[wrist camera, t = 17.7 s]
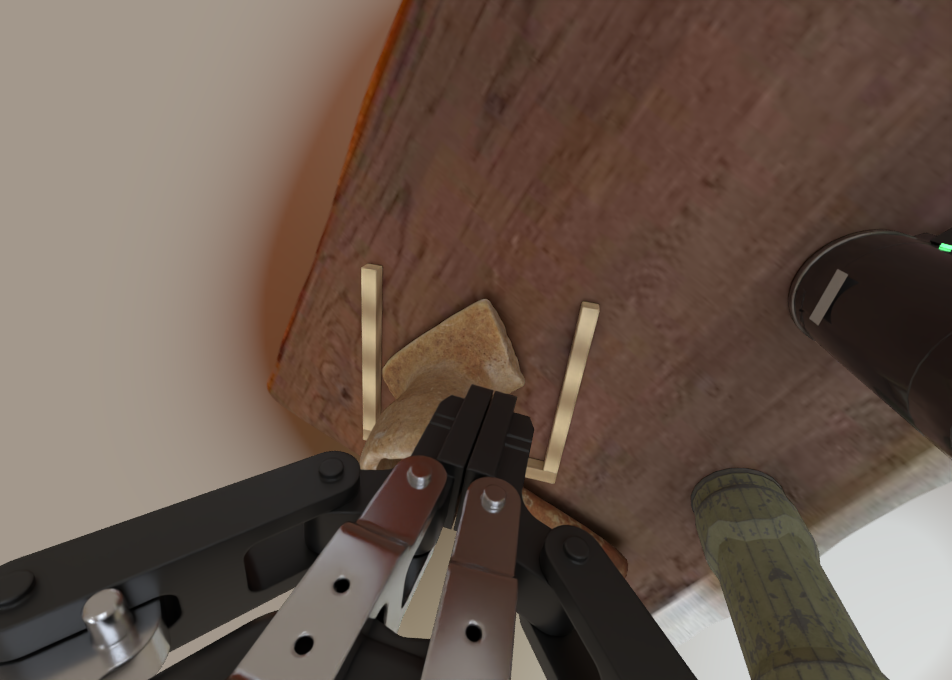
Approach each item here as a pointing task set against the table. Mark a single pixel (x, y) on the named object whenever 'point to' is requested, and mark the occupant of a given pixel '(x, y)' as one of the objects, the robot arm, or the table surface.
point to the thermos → (775, 582)
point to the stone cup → (440, 378)
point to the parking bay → (568, 394)
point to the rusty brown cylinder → (557, 518)
